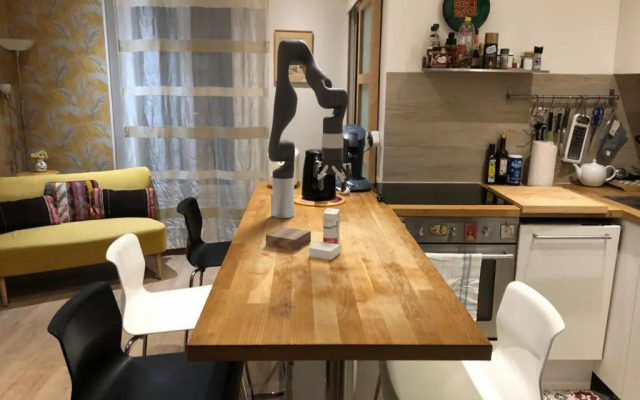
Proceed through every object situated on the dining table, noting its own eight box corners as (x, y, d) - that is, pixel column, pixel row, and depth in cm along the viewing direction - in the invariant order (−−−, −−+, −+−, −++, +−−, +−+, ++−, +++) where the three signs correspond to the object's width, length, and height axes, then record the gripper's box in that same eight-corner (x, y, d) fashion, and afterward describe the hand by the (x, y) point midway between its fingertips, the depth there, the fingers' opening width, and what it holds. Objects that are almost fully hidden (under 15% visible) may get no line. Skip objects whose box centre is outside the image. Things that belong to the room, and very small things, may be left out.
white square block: (309, 256, 174) (309, 247, 173) (319, 249, 181) (319, 241, 180) (330, 259, 171) (330, 251, 170) (340, 252, 178) (340, 244, 177)
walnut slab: (265, 245, 185) (265, 235, 184) (282, 236, 195) (282, 226, 194) (295, 250, 180) (295, 239, 179) (310, 241, 190) (310, 230, 189)
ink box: (335, 245, 185) (336, 214, 183) (322, 245, 186) (322, 213, 184) (339, 238, 194) (340, 208, 191) (327, 238, 195) (327, 207, 192)
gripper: (309, 145, 182) (309, 190, 185) (347, 148, 176) (346, 194, 179) (319, 143, 188) (318, 187, 192) (355, 145, 182) (354, 190, 186)
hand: (332, 190), depth 186 cm, fingers open, 8 cm apart
